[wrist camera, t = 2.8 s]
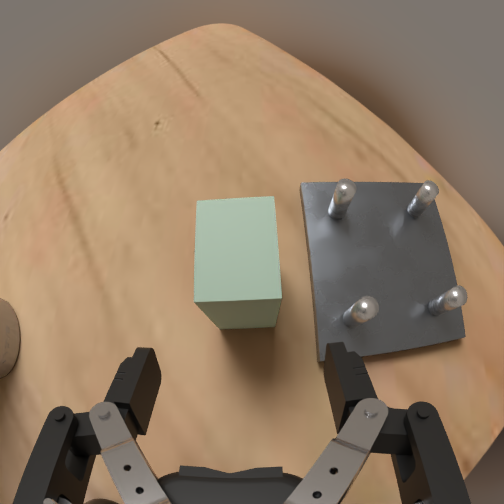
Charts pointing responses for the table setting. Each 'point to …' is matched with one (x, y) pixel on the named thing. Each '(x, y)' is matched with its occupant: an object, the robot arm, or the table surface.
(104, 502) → the supplement bottle
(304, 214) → the plate
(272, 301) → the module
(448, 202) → the table surface
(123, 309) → the table surface
